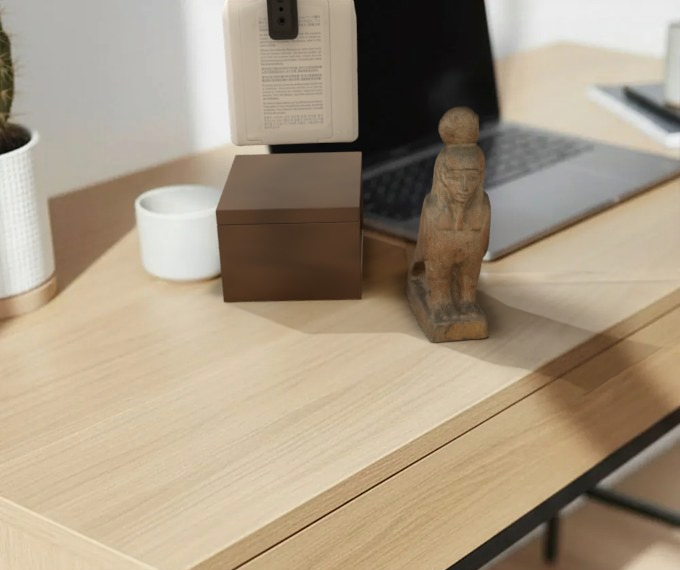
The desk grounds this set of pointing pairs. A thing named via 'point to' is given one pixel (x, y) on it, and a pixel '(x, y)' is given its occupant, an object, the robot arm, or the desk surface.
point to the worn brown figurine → (452, 236)
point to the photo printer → (291, 74)
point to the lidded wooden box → (292, 227)
